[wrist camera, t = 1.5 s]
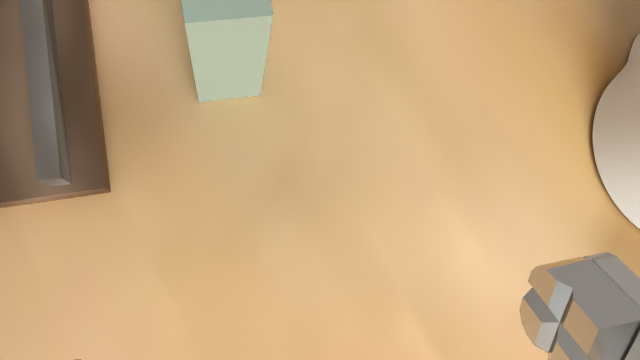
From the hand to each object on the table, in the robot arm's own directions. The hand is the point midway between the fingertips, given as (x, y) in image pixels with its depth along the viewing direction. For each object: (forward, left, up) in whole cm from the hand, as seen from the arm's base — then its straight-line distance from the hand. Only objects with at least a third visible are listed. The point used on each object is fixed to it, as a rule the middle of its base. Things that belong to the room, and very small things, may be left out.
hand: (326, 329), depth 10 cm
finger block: (0, -15, -24) cm, 28 cm away
